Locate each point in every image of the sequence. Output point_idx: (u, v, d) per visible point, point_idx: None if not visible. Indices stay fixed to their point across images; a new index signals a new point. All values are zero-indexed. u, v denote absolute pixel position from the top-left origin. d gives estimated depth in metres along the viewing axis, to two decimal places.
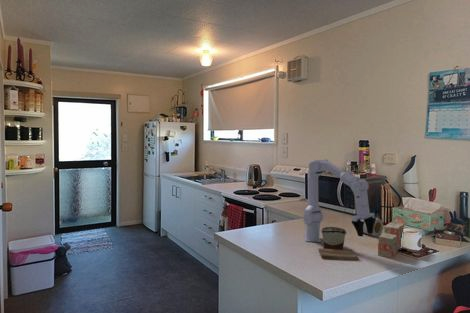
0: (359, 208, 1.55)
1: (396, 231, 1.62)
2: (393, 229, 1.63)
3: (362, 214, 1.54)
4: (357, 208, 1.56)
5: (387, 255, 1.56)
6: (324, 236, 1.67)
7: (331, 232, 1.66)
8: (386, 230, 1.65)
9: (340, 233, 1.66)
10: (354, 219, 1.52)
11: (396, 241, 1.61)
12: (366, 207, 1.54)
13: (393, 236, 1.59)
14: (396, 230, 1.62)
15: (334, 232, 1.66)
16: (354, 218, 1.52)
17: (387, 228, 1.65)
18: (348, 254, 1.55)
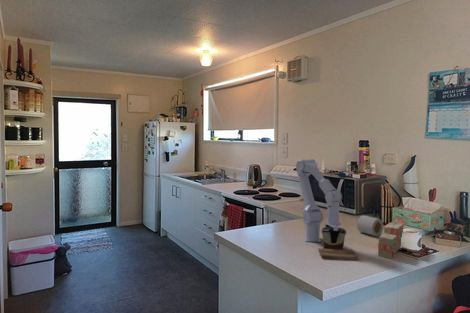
0: (334, 217, 1.66)
1: (396, 231, 1.62)
2: (393, 229, 1.63)
3: (336, 223, 1.66)
4: (332, 217, 1.66)
5: (387, 255, 1.56)
6: (325, 236, 1.67)
7: None
8: (386, 230, 1.64)
9: (340, 233, 1.66)
10: (336, 229, 1.62)
11: (396, 241, 1.61)
12: (338, 216, 1.68)
13: (393, 236, 1.58)
14: (396, 230, 1.62)
15: None
16: (336, 228, 1.62)
17: (387, 228, 1.64)
18: (348, 254, 1.55)
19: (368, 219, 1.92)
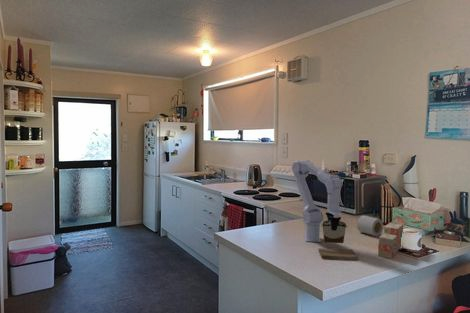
0: (335, 205, 1.65)
1: (396, 231, 1.62)
2: (393, 229, 1.62)
3: (337, 210, 1.66)
4: (333, 204, 1.66)
5: (387, 255, 1.56)
6: (325, 230, 1.66)
7: None
8: (386, 230, 1.64)
9: (340, 226, 1.66)
10: (336, 216, 1.61)
11: (396, 241, 1.61)
12: None
13: (393, 236, 1.58)
14: (396, 230, 1.61)
15: None
16: (336, 215, 1.61)
17: (387, 228, 1.64)
18: (348, 254, 1.55)
19: (368, 219, 1.92)
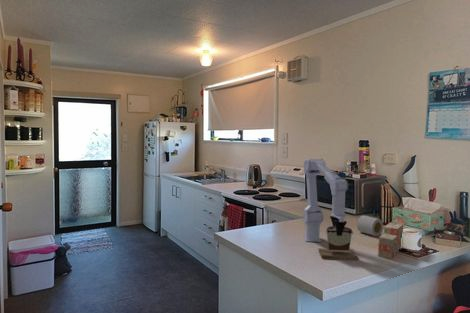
0: (340, 208, 1.55)
1: (396, 231, 1.61)
2: (393, 229, 1.62)
3: (342, 214, 1.55)
4: (338, 208, 1.55)
5: (387, 256, 1.55)
6: (329, 237, 1.56)
7: None
8: (386, 231, 1.64)
9: (346, 233, 1.55)
10: (342, 220, 1.50)
11: (396, 242, 1.60)
12: (344, 207, 1.56)
13: (393, 237, 1.58)
14: (396, 230, 1.61)
15: None
16: (342, 219, 1.50)
17: (387, 229, 1.64)
18: (348, 254, 1.55)
19: (368, 219, 1.92)
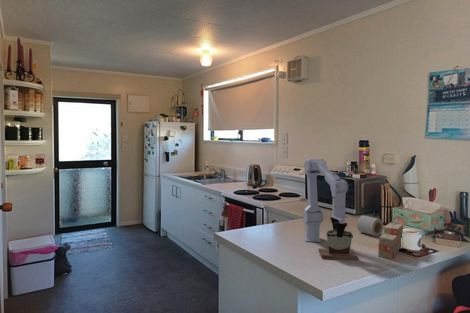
0: (340, 209, 1.54)
1: (396, 232, 1.61)
2: (393, 230, 1.62)
3: (342, 215, 1.54)
4: (338, 209, 1.54)
5: (388, 256, 1.55)
6: (330, 240, 1.55)
7: None
8: (386, 231, 1.64)
9: (346, 237, 1.55)
10: (342, 221, 1.50)
11: (396, 242, 1.60)
12: None
13: (393, 237, 1.58)
14: (396, 231, 1.61)
15: None
16: (342, 220, 1.50)
17: (387, 229, 1.63)
18: None
19: (368, 219, 1.92)
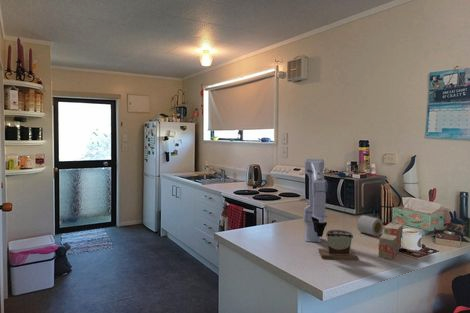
0: (320, 209, 1.55)
1: (396, 232, 1.61)
2: (393, 230, 1.61)
3: (322, 215, 1.55)
4: (318, 209, 1.55)
5: (388, 256, 1.55)
6: (330, 240, 1.55)
7: (337, 236, 1.55)
8: (386, 231, 1.63)
9: (346, 237, 1.55)
10: (322, 221, 1.51)
11: (396, 242, 1.60)
12: None
13: (393, 237, 1.57)
14: (396, 231, 1.61)
15: (340, 236, 1.55)
16: (322, 220, 1.51)
17: (387, 229, 1.63)
18: None
19: (368, 219, 1.92)
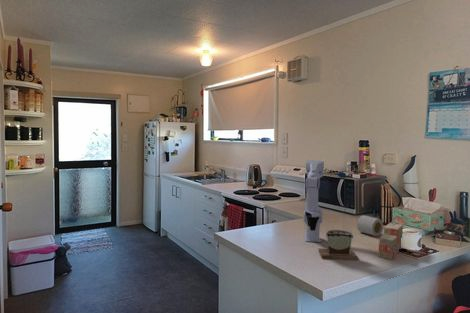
0: (313, 204, 1.63)
1: (396, 232, 1.60)
2: (393, 230, 1.61)
3: (315, 209, 1.64)
4: (311, 204, 1.63)
5: (388, 256, 1.54)
6: (330, 240, 1.55)
7: (337, 236, 1.55)
8: (386, 231, 1.63)
9: (346, 237, 1.55)
10: (314, 215, 1.59)
11: (396, 242, 1.59)
12: (317, 203, 1.65)
13: (393, 237, 1.57)
14: (396, 231, 1.60)
15: (340, 236, 1.55)
16: (314, 214, 1.59)
17: (387, 229, 1.63)
18: None
19: (368, 219, 1.92)
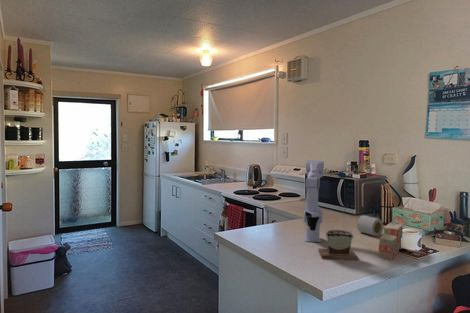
0: (313, 204, 1.63)
1: (396, 232, 1.60)
2: (393, 230, 1.61)
3: (315, 209, 1.64)
4: (311, 204, 1.63)
5: (388, 257, 1.54)
6: (330, 240, 1.55)
7: (337, 236, 1.55)
8: (386, 231, 1.63)
9: (346, 237, 1.55)
10: (314, 215, 1.59)
11: (396, 242, 1.59)
12: (317, 203, 1.65)
13: (394, 237, 1.57)
14: (396, 231, 1.60)
15: (340, 236, 1.55)
16: (314, 214, 1.59)
17: (387, 229, 1.62)
18: None
19: (368, 219, 1.92)
